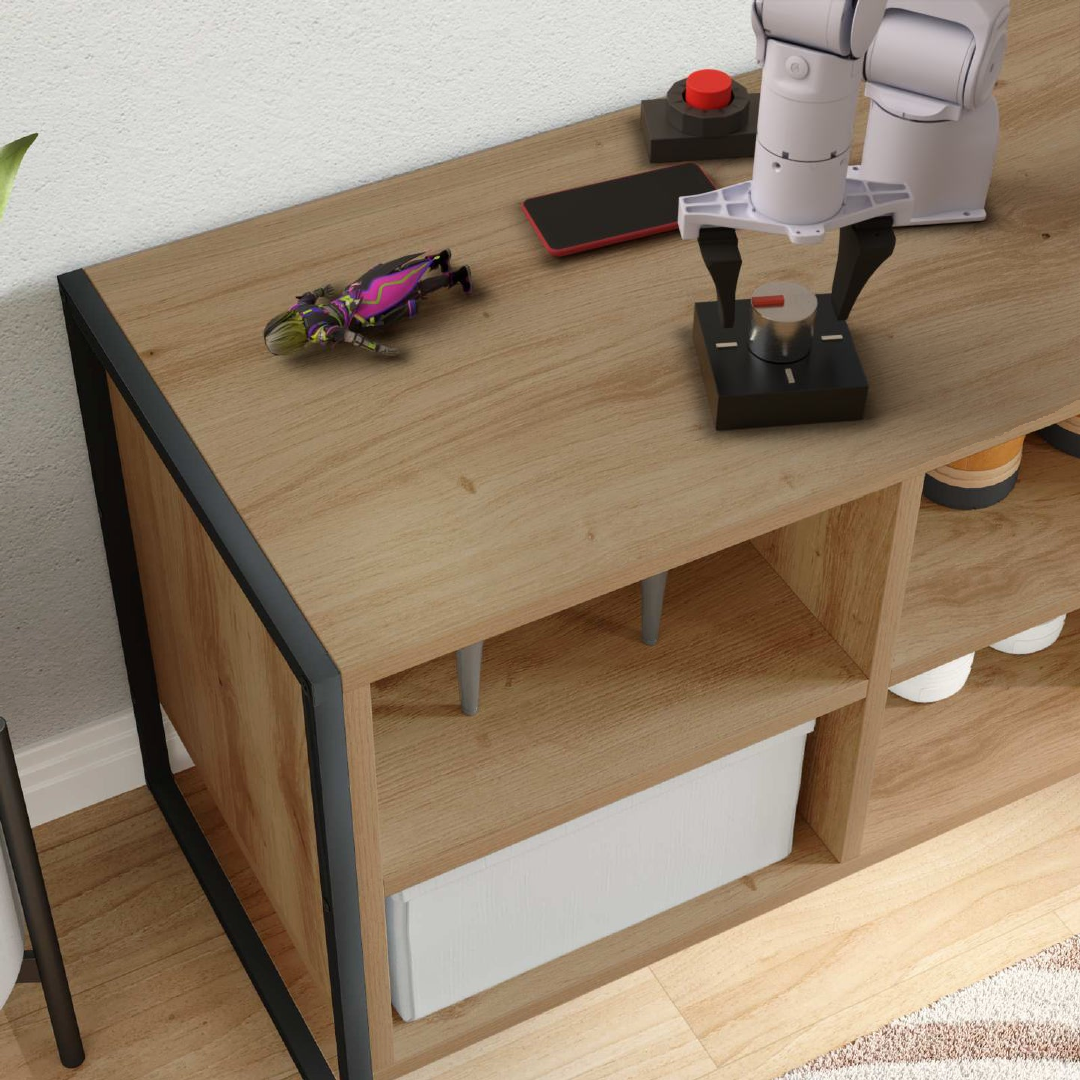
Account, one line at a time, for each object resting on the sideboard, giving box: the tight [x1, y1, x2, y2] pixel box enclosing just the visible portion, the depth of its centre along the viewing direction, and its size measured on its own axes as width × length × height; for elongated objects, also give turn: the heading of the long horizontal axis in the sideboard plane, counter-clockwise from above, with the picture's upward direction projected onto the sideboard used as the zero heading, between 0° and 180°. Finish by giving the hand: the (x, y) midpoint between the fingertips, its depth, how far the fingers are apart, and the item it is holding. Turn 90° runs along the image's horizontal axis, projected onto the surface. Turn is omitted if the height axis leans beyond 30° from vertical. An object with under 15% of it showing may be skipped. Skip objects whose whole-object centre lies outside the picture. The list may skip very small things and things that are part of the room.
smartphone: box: [521, 161, 719, 258], centre depth 122 cm, size 7×1×15 cm
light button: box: [686, 68, 732, 110], centre depth 126 cm, size 4×4×2 cm
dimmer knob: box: [747, 280, 818, 363], centre depth 105 cm, size 4×4×4 cm
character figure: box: [262, 247, 474, 357], centre depth 112 cm, size 9×4×16 cm
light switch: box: [639, 76, 761, 164], centre depth 128 cm, size 10×6×4 cm, turn 95°
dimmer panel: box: [692, 292, 870, 431], centre depth 108 cm, size 10×10×3 cm
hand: (782, 315), depth 105 cm, fingers open, 7 cm apart
